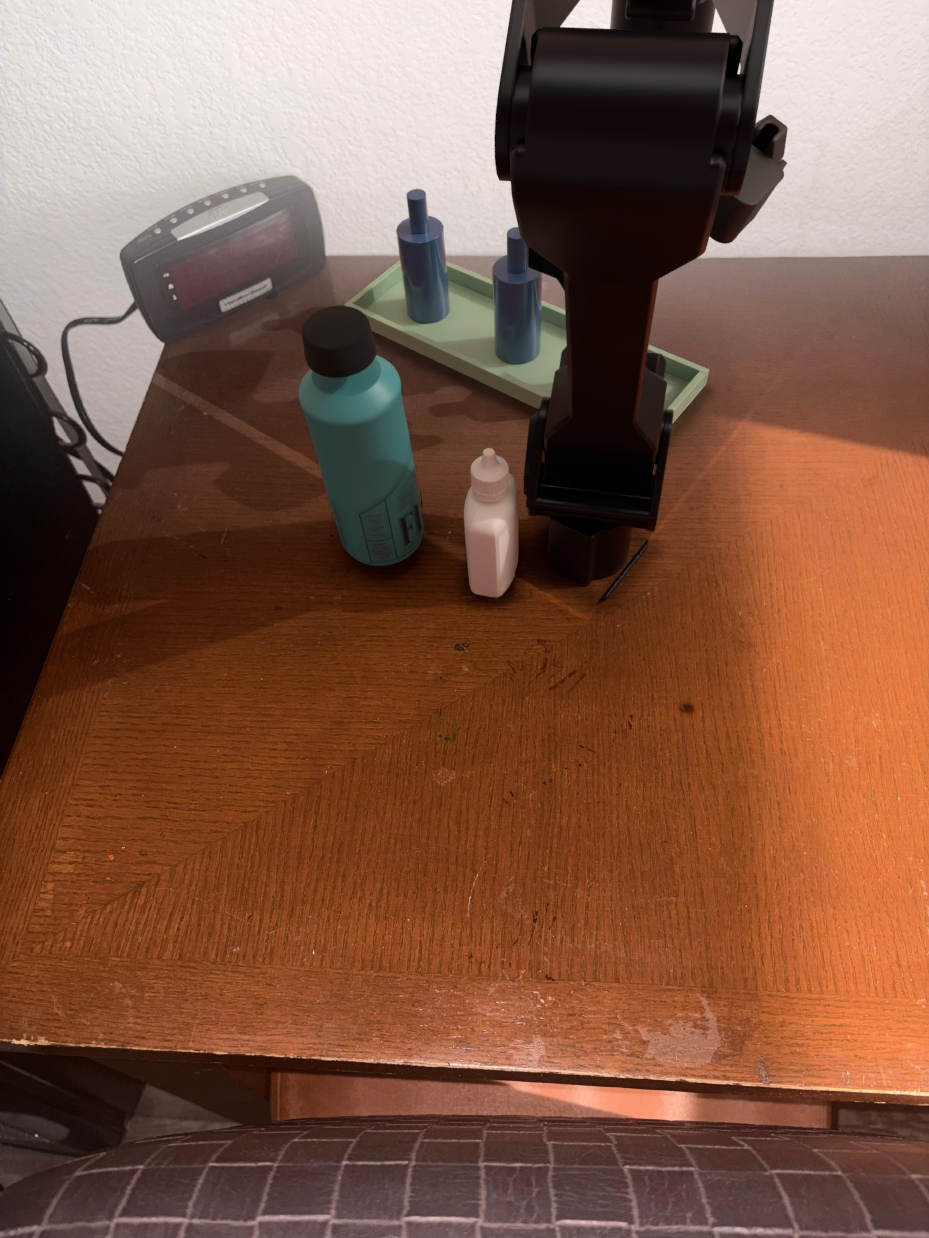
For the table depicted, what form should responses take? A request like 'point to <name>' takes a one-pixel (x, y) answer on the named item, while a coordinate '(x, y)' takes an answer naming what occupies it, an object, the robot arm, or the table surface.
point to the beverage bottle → (360, 437)
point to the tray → (471, 339)
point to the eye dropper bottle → (491, 525)
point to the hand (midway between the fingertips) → (627, 302)
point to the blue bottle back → (423, 262)
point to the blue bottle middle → (516, 304)
